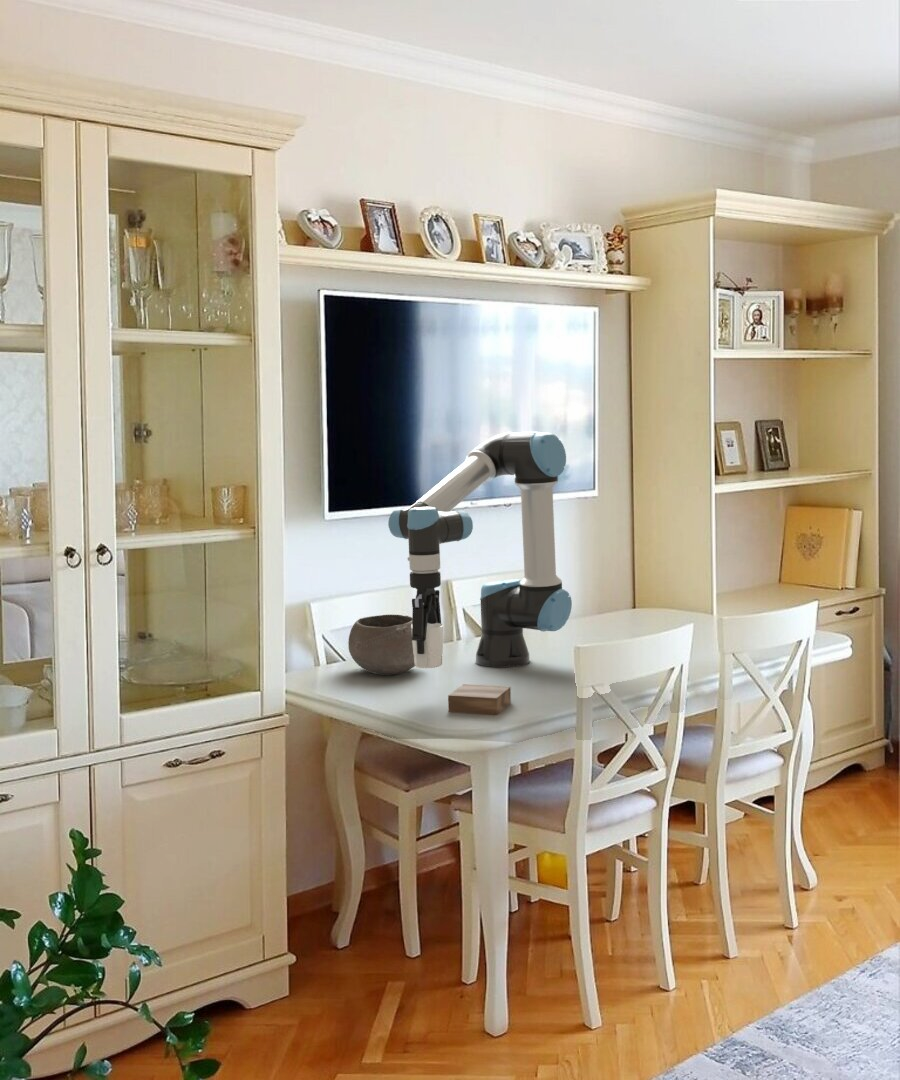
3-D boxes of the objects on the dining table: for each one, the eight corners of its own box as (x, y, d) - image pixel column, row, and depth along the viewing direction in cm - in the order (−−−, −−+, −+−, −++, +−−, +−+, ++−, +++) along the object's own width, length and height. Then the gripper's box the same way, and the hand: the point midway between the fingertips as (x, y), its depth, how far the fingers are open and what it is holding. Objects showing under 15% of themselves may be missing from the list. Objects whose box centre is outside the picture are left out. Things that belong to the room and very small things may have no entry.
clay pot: (423, 680, 332) (422, 624, 331) (345, 681, 333) (343, 626, 331) (427, 663, 353) (426, 611, 352) (353, 664, 354) (352, 612, 352)
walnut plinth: (463, 700, 310) (463, 684, 310) (510, 702, 306) (510, 686, 306) (448, 711, 299) (448, 695, 298) (496, 714, 295) (496, 698, 295)
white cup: (448, 667, 306) (447, 626, 304) (417, 670, 303) (415, 629, 302) (439, 660, 313) (438, 621, 312) (408, 663, 311) (407, 624, 310)
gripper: (424, 564, 316) (427, 653, 319) (395, 577, 297) (399, 671, 300) (452, 564, 314) (455, 654, 317) (425, 577, 294) (428, 672, 297)
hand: (428, 662), depth 308 cm, fingers closed on white cup, 8 cm apart
